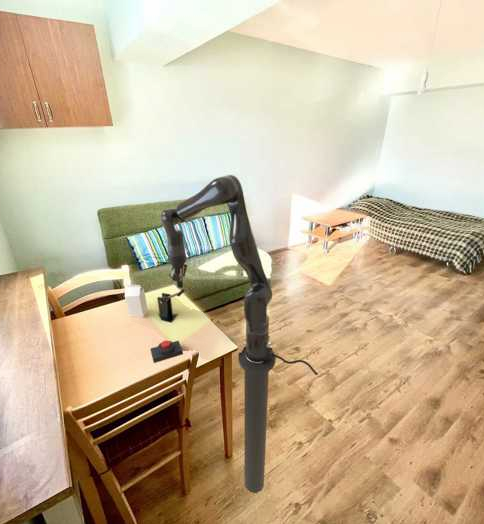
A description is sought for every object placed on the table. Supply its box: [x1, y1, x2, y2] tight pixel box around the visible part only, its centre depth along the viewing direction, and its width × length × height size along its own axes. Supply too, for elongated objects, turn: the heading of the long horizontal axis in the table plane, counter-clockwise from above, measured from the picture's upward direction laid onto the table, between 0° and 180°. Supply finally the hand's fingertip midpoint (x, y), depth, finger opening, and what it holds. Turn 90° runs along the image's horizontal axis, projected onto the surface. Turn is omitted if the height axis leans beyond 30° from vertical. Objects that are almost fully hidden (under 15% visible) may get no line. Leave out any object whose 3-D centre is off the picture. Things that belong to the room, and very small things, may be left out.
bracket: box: [156, 292, 179, 323], centre depth 138 cm, size 10×8×13 cm
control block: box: [149, 340, 184, 364], centre depth 116 cm, size 12×7×4 cm, turn 115°
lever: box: [161, 288, 186, 301], centre depth 134 cm, size 13×5×2 cm, turn 72°
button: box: [160, 340, 171, 349], centre depth 115 cm, size 4×4×2 cm
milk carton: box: [124, 284, 149, 318], centre depth 138 cm, size 7×7×19 cm
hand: (180, 287), depth 130 cm, fingers closed
